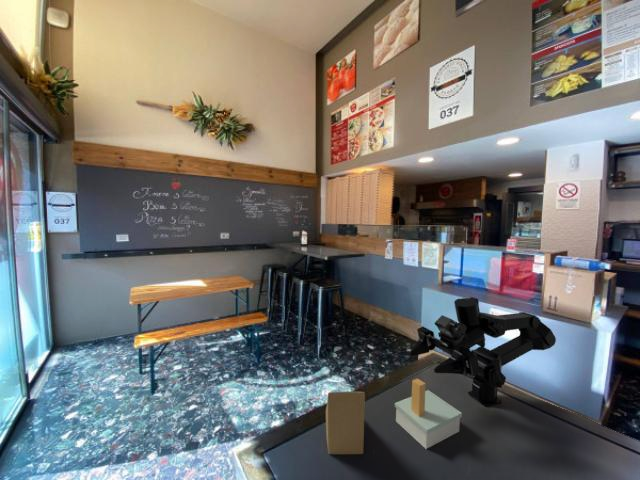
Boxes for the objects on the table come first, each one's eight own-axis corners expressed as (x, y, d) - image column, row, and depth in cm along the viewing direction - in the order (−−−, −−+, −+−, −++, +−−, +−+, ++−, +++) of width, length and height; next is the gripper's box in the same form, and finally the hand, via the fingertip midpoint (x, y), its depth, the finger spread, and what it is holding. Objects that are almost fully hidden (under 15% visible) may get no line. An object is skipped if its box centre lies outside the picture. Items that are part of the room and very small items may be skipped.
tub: (427, 407, 78) (428, 394, 78) (459, 431, 69) (459, 416, 69) (395, 421, 73) (396, 407, 72) (426, 449, 64) (426, 432, 64)
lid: (427, 396, 78) (428, 363, 78) (461, 420, 69) (463, 382, 68) (394, 410, 73) (395, 374, 72) (426, 438, 63) (428, 397, 63)
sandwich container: (354, 408, 78) (355, 358, 77) (364, 454, 62) (365, 392, 61) (325, 409, 78) (325, 358, 77) (327, 455, 62) (327, 392, 61)
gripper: (434, 303, 85) (393, 322, 80) (490, 324, 68) (443, 351, 63) (440, 334, 87) (401, 356, 82) (496, 363, 70) (451, 392, 64)
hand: (421, 362), depth 73 cm, fingers open, 9 cm apart
